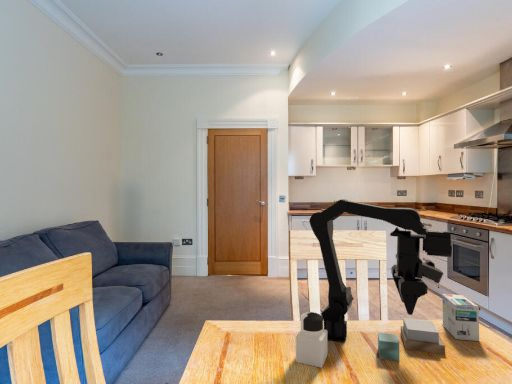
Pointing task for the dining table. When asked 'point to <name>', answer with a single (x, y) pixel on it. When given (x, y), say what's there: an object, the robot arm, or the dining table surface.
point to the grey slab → (420, 330)
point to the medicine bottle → (311, 340)
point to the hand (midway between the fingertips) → (406, 308)
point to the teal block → (388, 346)
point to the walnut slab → (423, 344)
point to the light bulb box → (461, 317)
